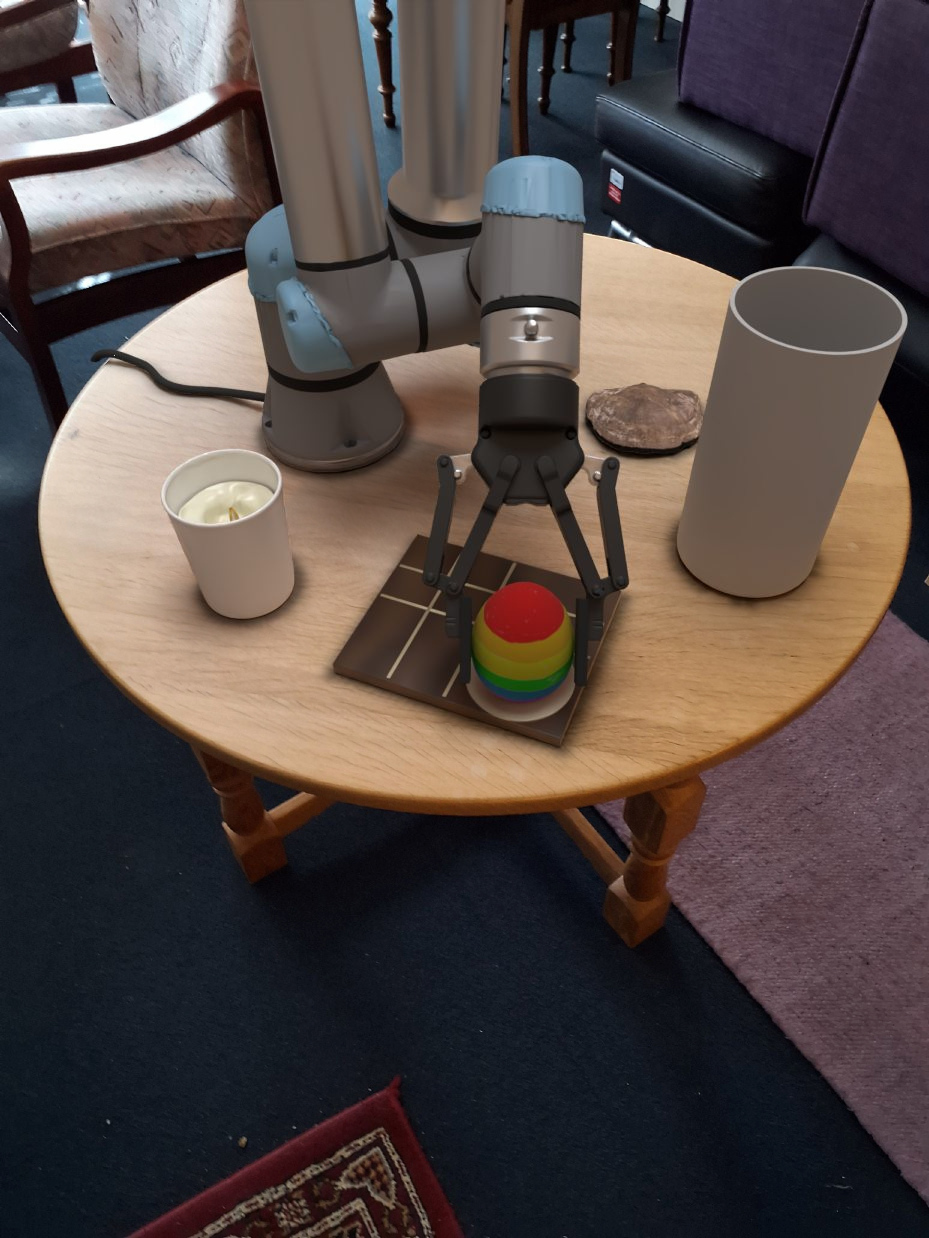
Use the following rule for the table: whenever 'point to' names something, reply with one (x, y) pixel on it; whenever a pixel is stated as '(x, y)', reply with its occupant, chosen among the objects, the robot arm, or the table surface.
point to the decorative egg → (522, 643)
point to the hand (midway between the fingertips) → (522, 682)
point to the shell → (645, 418)
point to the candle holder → (233, 530)
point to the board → (458, 643)
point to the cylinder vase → (784, 424)
